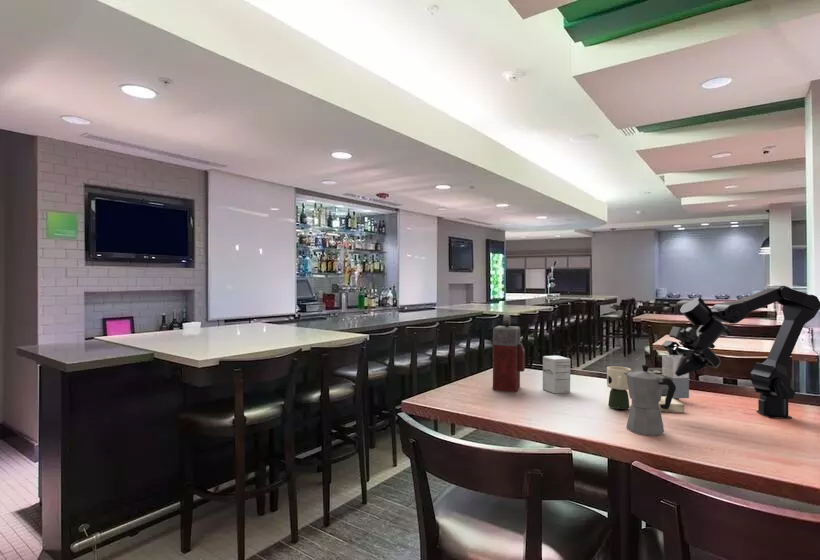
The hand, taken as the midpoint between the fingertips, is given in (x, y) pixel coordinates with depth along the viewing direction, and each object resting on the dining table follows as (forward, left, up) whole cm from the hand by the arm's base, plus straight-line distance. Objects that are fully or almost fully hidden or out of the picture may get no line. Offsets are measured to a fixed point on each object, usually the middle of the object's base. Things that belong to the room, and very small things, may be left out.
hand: (671, 373), depth 138 cm
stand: (-2, -11, -13) cm, 18 cm away
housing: (-1, 0, -7) cm, 7 cm away
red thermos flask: (+44, -31, -13) cm, 56 cm away
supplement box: (+27, -30, -13) cm, 43 cm away
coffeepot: (+12, +15, -13) cm, 23 cm away
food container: (-8, -25, -13) cm, 30 cm away
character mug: (+12, -8, -13) cm, 20 cm away
